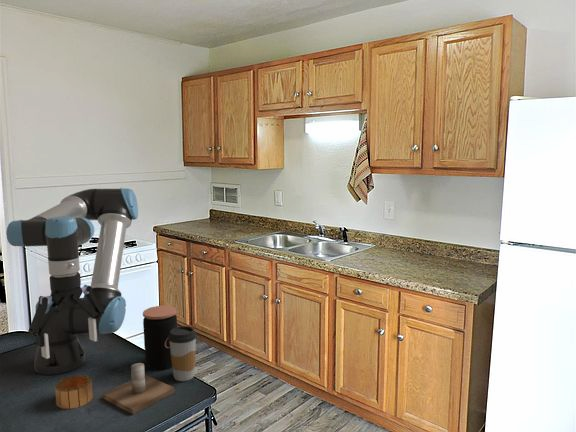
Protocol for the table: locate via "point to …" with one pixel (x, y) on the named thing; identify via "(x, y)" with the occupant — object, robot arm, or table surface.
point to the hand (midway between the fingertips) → (70, 348)
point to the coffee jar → (158, 335)
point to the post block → (138, 391)
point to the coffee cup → (183, 352)
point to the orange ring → (73, 391)
